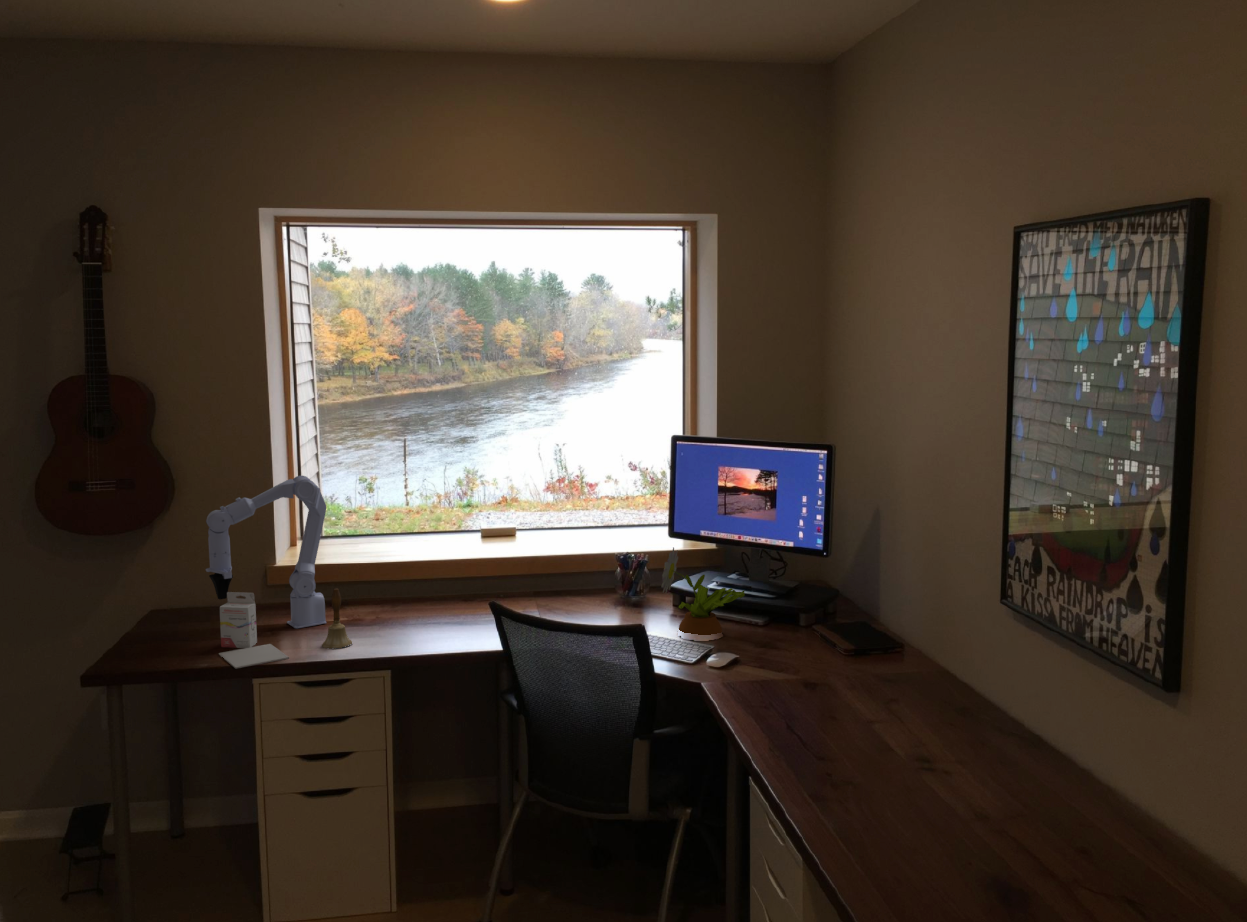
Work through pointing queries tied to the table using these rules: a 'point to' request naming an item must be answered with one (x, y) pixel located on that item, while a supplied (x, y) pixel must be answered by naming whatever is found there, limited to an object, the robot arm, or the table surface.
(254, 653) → the mat
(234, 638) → the ink cartridge box
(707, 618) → the decorative plant
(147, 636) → the table surface
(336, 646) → the hand bell
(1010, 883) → the table surface
